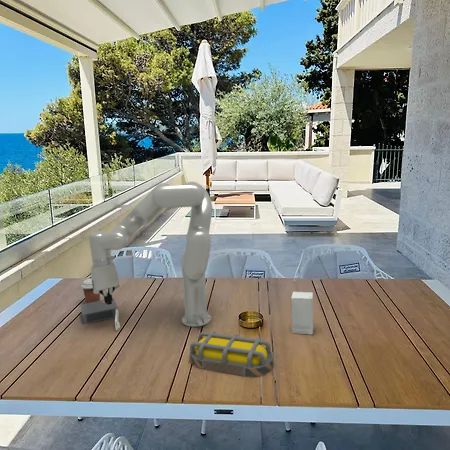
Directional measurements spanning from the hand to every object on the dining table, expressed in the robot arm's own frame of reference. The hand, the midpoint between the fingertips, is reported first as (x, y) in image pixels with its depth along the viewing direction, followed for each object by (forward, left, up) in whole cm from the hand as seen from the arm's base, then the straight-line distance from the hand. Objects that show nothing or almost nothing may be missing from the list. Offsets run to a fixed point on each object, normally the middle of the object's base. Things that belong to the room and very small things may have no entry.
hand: (108, 303), depth 166 cm
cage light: (-45, -35, -12) cm, 58 cm away
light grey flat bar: (+3, -3, -11) cm, 12 cm away
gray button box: (+16, +3, -12) cm, 20 cm away
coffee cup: (+31, +5, -12) cm, 34 cm away
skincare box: (-39, -69, -12) cm, 80 cm away
